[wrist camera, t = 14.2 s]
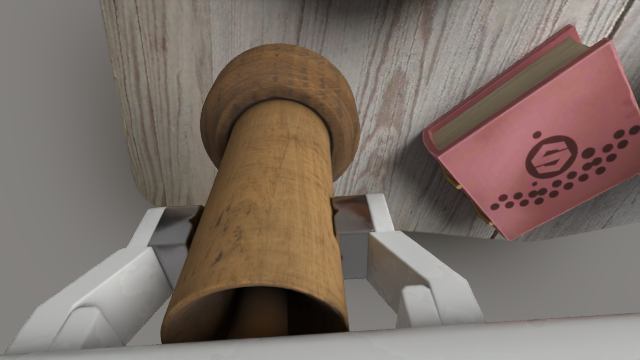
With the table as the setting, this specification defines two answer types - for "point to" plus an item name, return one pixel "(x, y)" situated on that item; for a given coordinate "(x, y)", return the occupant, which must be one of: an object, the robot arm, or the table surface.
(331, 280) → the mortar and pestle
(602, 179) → the book
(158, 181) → the table surface
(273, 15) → the table surface
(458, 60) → the table surface
